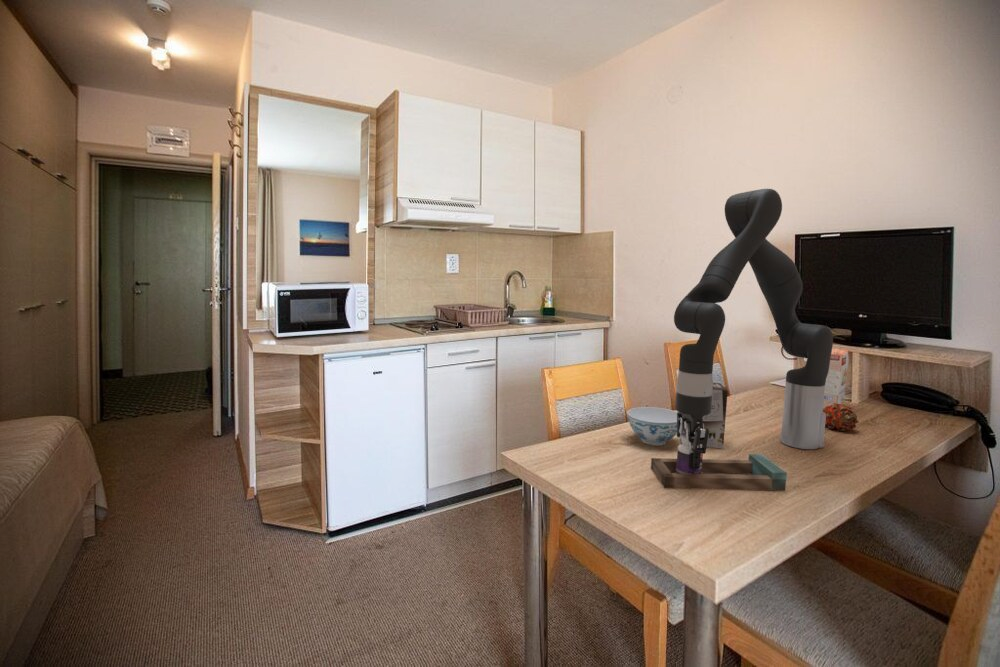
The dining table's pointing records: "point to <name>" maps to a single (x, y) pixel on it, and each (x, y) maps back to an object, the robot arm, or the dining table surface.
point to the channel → (758, 465)
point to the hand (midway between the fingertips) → (689, 463)
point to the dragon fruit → (840, 417)
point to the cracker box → (836, 377)
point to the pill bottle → (685, 459)
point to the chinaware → (653, 424)
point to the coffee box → (716, 417)
